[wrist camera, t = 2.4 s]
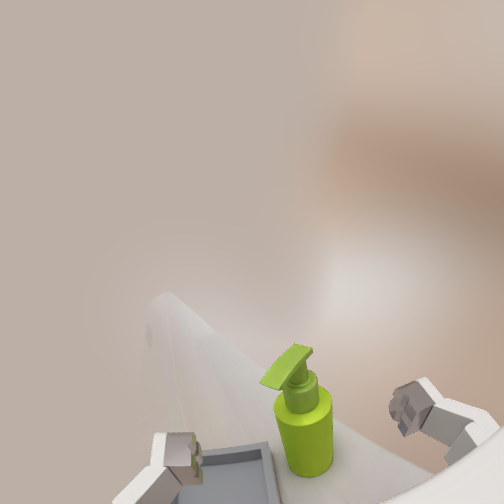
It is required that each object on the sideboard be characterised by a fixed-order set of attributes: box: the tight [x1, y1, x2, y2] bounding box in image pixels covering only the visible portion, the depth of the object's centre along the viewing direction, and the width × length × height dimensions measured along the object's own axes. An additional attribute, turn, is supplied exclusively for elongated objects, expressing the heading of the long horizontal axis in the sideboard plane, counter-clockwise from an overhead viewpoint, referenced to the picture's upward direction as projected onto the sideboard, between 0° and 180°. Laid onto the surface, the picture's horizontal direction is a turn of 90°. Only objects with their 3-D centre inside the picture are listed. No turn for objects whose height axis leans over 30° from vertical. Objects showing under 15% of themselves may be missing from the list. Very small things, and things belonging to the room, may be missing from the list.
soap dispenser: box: [259, 344, 333, 477], centre depth 25 cm, size 6×7×20 cm
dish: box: [171, 442, 281, 504], centre depth 23 cm, size 14×14×4 cm
